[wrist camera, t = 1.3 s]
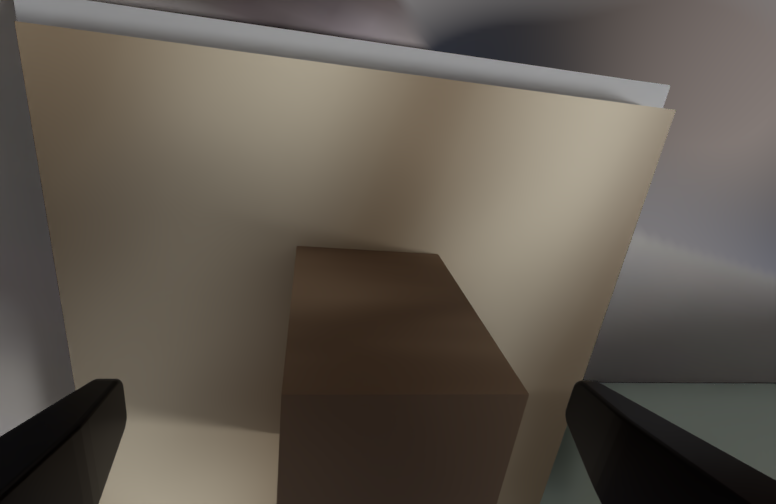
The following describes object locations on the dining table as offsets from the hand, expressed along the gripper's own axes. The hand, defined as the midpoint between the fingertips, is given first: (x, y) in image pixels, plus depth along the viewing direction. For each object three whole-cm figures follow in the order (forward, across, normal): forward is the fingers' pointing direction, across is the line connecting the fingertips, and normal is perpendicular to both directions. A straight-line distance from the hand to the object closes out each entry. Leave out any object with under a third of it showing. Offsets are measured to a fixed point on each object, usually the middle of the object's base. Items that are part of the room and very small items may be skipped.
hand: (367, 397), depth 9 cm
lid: (+3, 0, 0) cm, 3 cm away
